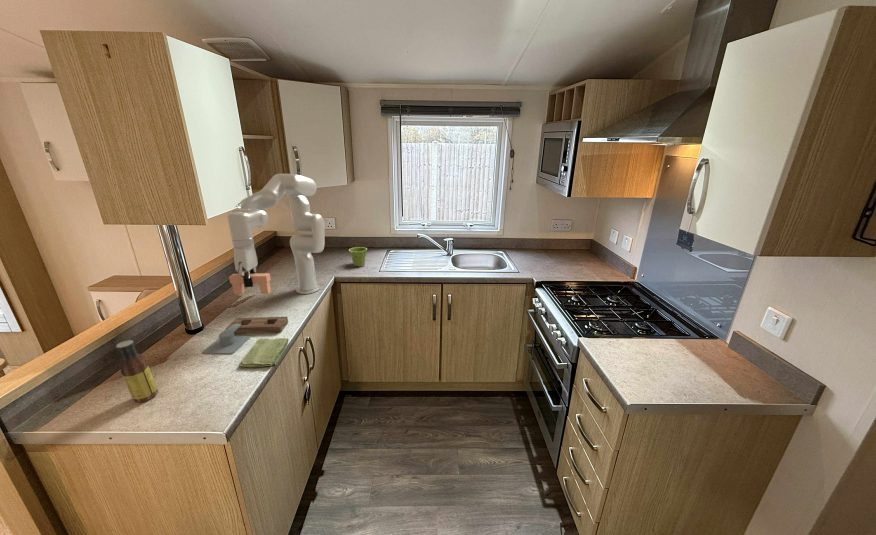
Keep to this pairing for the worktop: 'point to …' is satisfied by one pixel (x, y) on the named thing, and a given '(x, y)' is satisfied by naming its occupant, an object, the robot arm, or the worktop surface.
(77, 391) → the worktop surface
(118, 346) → the sauce bottle
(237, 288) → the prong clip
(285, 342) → the washcloth
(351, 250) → the plant pot
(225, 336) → the shower valve
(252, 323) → the slotted rail
